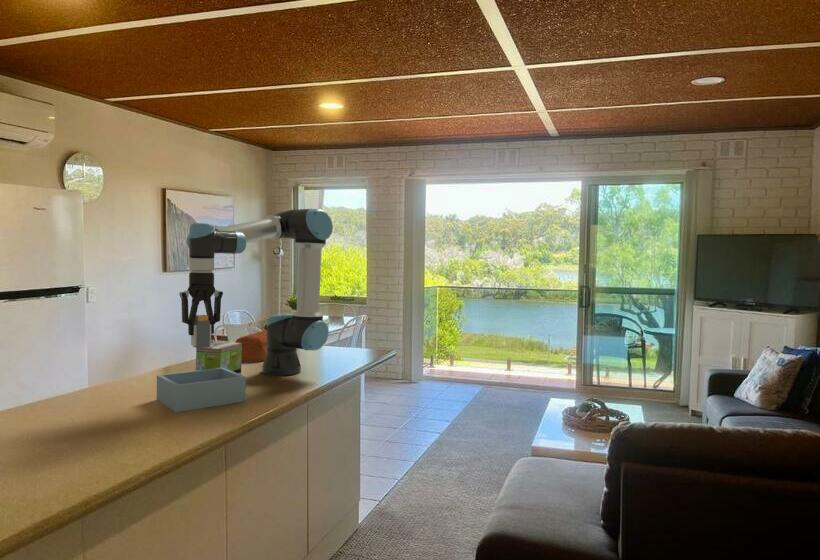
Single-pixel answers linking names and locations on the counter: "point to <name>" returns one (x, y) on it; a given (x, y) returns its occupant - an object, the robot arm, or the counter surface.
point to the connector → (202, 331)
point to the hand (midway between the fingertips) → (201, 344)
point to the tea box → (220, 356)
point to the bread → (254, 346)
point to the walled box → (200, 389)
